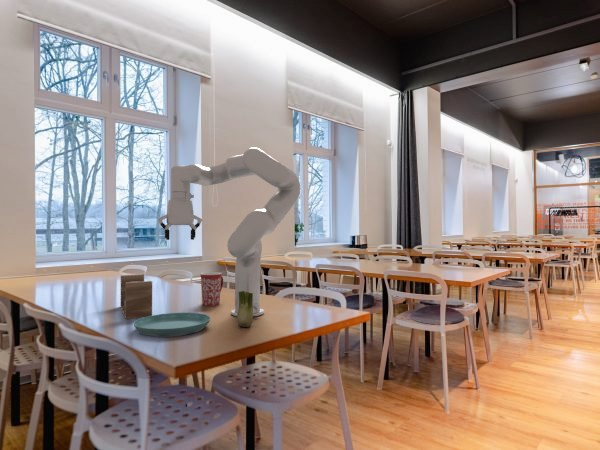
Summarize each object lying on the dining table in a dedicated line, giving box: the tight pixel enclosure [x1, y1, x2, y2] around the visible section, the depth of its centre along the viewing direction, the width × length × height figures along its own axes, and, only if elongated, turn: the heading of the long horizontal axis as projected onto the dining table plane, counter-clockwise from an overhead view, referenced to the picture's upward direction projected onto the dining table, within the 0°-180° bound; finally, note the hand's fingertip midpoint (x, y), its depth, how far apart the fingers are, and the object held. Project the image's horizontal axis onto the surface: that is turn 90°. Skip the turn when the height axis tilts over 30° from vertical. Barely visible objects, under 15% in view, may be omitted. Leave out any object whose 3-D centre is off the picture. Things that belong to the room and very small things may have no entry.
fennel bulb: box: [236, 291, 254, 328], centre depth 138 cm, size 6×5×12 cm
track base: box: [119, 274, 153, 320], centre depth 162 cm, size 26×9×13 cm, turn 28°
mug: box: [200, 271, 224, 307], centre depth 179 cm, size 13×9×14 cm
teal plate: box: [132, 312, 211, 338], centre depth 135 cm, size 24×24×3 cm
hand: (180, 239), depth 165 cm, fingers open, 9 cm apart
